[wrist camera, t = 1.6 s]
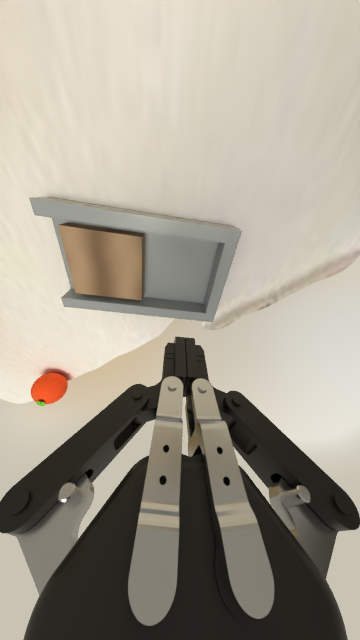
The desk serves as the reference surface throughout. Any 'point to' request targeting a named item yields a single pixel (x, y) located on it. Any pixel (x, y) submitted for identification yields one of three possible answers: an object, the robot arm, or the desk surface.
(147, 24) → the desk surface
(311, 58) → the desk surface
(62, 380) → the clementine
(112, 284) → the cover plate
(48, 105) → the desk surface
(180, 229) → the open box
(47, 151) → the desk surface
